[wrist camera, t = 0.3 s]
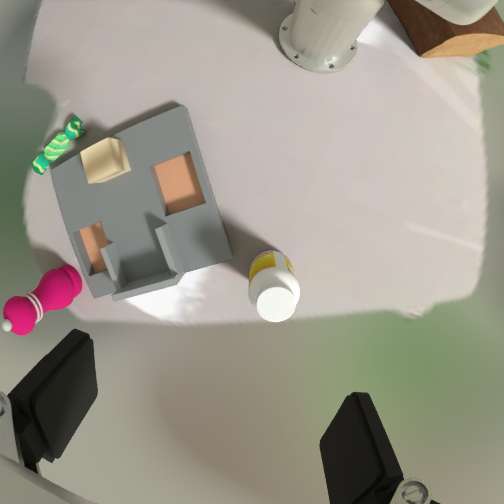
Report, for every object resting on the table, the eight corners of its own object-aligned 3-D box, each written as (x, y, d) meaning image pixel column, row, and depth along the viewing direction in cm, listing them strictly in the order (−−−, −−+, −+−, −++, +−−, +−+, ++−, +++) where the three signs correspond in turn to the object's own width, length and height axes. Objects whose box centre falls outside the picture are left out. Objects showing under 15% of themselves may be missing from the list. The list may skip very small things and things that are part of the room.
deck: (58, 170, 42) (32, 171, 35) (187, 108, 40) (173, 96, 32) (100, 293, 48) (80, 310, 41) (233, 254, 46) (228, 270, 38)
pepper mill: (76, 305, 49) (16, 358, 30) (52, 281, 48) (-13, 325, 28) (90, 279, 47) (23, 330, 28) (63, 254, 46) (-9, 294, 27)
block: (96, 153, 39) (80, 152, 34) (122, 140, 39) (107, 137, 34) (104, 182, 40) (88, 183, 35) (131, 170, 40) (116, 170, 35)
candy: (76, 114, 39) (70, 121, 36) (88, 126, 41) (82, 135, 38) (35, 156, 41) (28, 166, 38) (46, 167, 43) (40, 178, 40)
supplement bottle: (243, 280, 47) (238, 318, 34) (259, 242, 45) (260, 269, 33) (281, 294, 47) (289, 336, 35) (298, 258, 46) (313, 290, 33)
